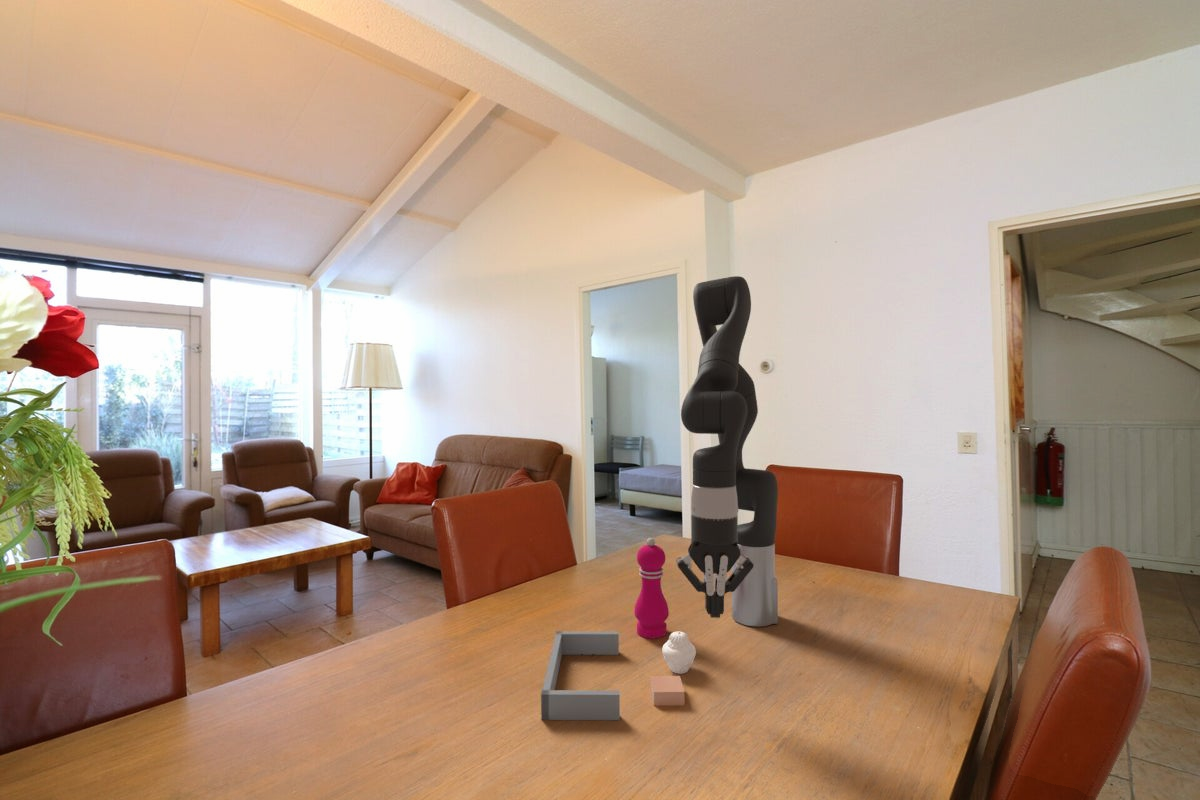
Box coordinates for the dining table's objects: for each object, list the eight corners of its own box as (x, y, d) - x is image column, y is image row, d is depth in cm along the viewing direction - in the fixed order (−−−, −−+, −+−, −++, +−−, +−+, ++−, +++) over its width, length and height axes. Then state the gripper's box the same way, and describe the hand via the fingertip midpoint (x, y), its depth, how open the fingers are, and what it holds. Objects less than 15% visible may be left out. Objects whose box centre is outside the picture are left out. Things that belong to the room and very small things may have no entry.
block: (680, 690, 96) (679, 675, 96) (684, 706, 91) (684, 691, 90) (650, 690, 96) (650, 676, 95) (653, 707, 91) (653, 692, 90)
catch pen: (618, 651, 109) (618, 631, 109) (619, 720, 87) (619, 694, 86) (556, 651, 109) (556, 631, 109) (541, 719, 87) (541, 694, 87)
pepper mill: (667, 641, 113) (666, 543, 113) (632, 638, 115) (631, 541, 114) (670, 626, 120) (669, 534, 120) (636, 623, 122) (636, 532, 121)
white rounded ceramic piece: (666, 659, 106) (666, 622, 106) (698, 664, 104) (698, 627, 104) (658, 675, 100) (658, 636, 100) (692, 680, 98) (692, 641, 98)
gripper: (749, 507, 96) (749, 607, 96) (671, 507, 96) (672, 606, 96) (760, 517, 88) (760, 625, 89) (676, 517, 89) (676, 625, 89)
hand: (714, 615), depth 93 cm, fingers closed
